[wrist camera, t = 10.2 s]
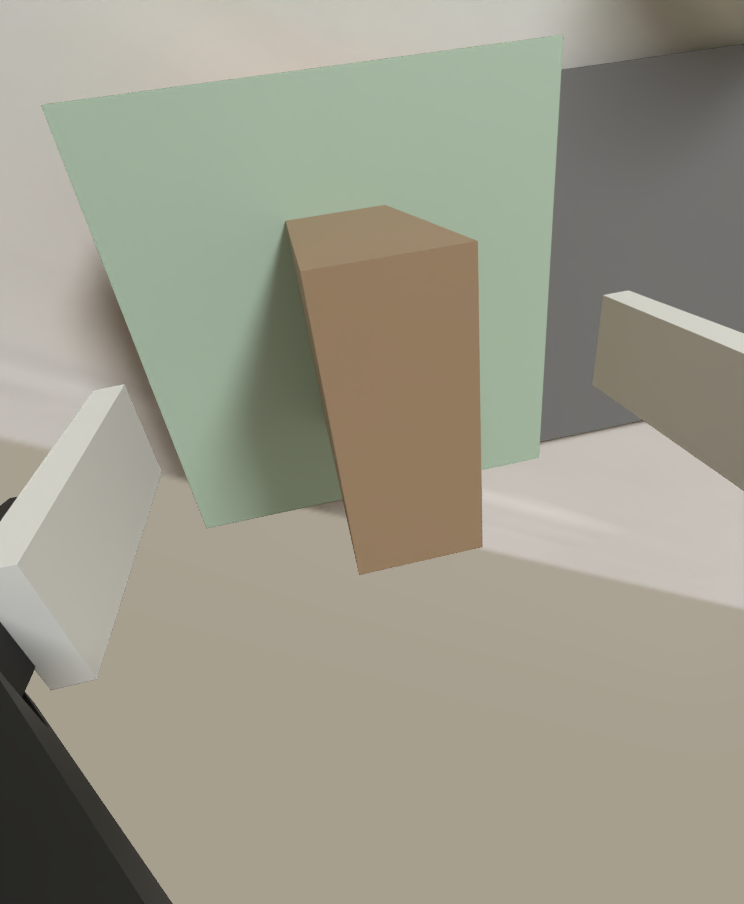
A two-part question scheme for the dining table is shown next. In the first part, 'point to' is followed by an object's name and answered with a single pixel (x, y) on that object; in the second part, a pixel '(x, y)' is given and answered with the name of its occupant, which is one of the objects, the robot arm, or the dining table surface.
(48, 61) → the dining table surface
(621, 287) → the mat
